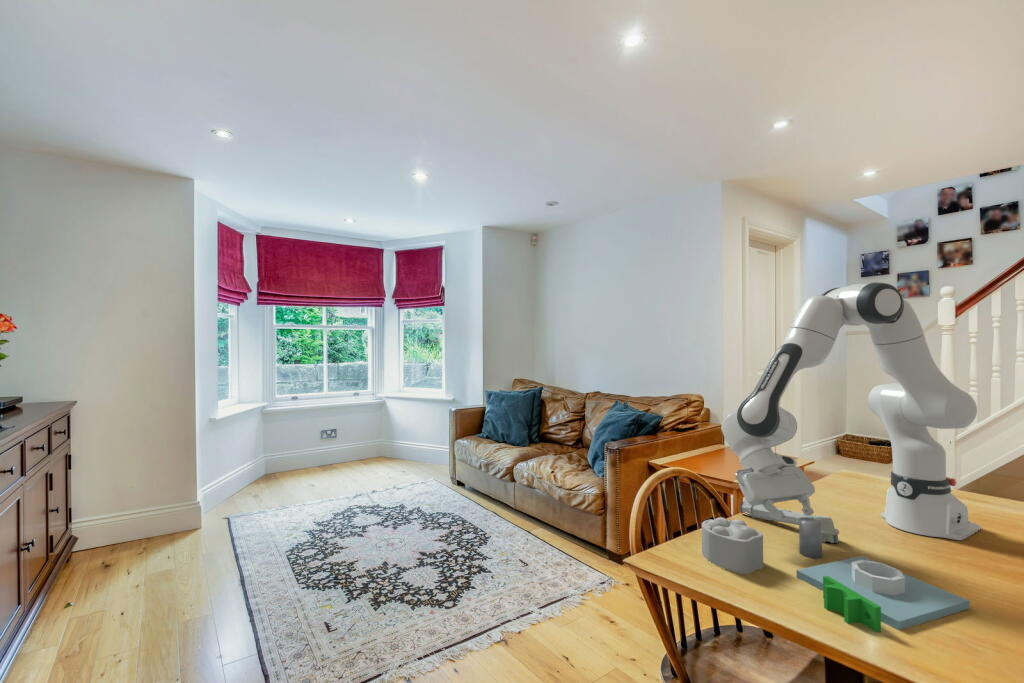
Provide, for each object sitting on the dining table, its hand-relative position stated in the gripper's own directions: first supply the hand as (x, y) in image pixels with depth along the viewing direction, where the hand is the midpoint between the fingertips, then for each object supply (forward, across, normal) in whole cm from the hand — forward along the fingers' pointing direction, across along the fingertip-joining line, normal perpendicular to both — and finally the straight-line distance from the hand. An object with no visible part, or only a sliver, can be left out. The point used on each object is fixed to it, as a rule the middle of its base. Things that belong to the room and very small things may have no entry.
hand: (796, 516), depth 116 cm
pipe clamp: (+23, -17, -11) cm, 31 cm away
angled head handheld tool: (-2, +9, +13) cm, 16 cm away
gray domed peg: (+8, 0, +3) cm, 9 cm away
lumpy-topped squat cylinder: (+5, -20, +6) cm, 22 cm away
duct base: (+20, -3, -9) cm, 22 cm away
